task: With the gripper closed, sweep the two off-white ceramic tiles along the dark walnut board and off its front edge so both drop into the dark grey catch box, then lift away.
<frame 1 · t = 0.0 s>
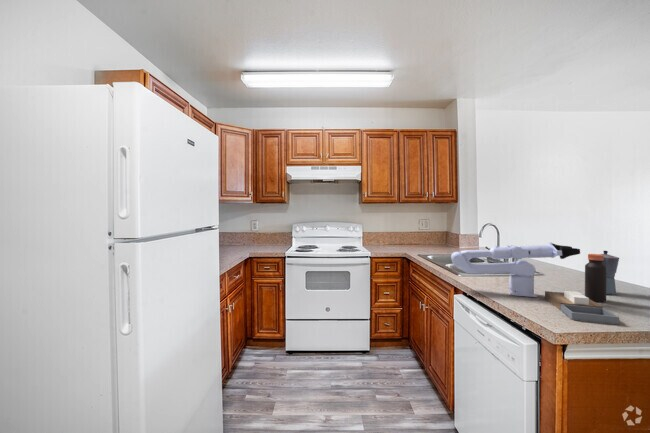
hand: (575, 250, 125), 22 cm above the countertop, tool horizontal, fingers open, 7 cm apart
walnut board: (571, 305, 117), on the countertop
catch box: (587, 317, 104), on the countertop
tile front: (578, 302, 112), point 3 cm above the countertop, touching walnut board
tile back: (573, 298, 116), point 3 cm above the countertop, touching walnut board
bottle: (595, 300, 123), on the countertop
moka pot: (602, 293, 133), on the countertop
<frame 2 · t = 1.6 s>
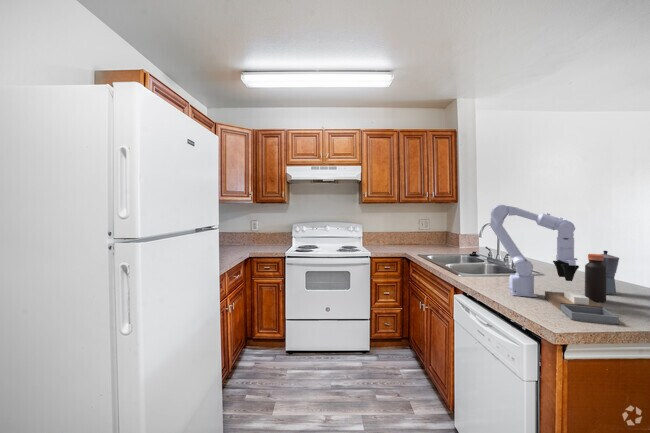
hand: (565, 278, 123), 9 cm above the countertop, tool pointing down, fingers open, 7 cm apart
nothing on the countertop moved.
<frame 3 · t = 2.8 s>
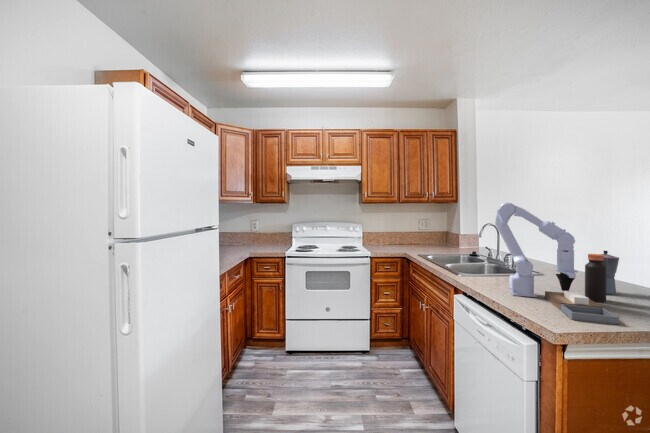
hand: (565, 290, 123), 4 cm above the countertop, tool pointing down, fingers closed
nothing on the countertop moved.
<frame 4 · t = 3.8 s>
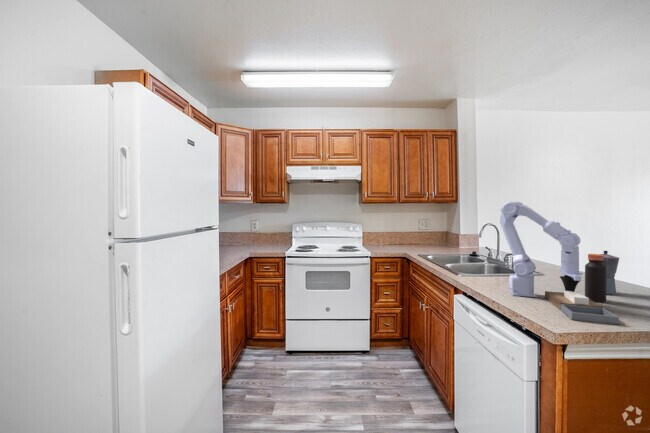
hand: (569, 293, 119), 4 cm above the countertop, tool pointing down, fingers closed
tile back: (573, 298, 116), point 3 cm above the countertop, touching gripper, walnut board
everything else where it was.
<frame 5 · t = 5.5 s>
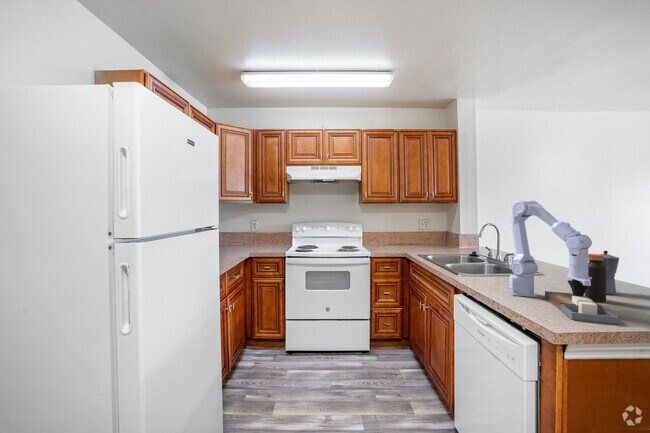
hand: (578, 299, 112), 4 cm above the countertop, tool pointing down, fingers closed
tile front: (586, 308, 106), point 3 cm above the countertop, tilted 90°, touching catch box
tile back: (581, 304, 109), point 3 cm above the countertop, touching gripper
everything else where it was.
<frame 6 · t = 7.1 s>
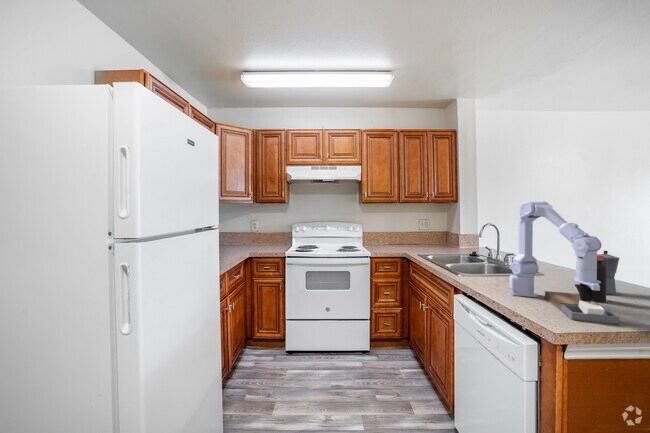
hand: (585, 304, 106), 4 cm above the countertop, tool pointing down, fingers closed, pressing on tile back
tile front: (591, 310, 102), point 3 cm above the countertop, tilted 104°, touching catch box, tile back
tile back: (588, 310, 104), point 2 cm above the countertop, tilted 14°, touching gripper, tile front
everything else where it was.
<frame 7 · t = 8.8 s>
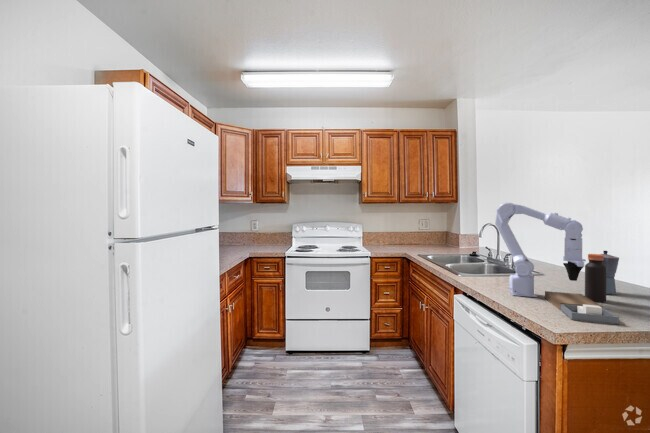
hand: (572, 280, 121), 9 cm above the countertop, tool pointing down, fingers closed
tile front: (590, 311, 103), point 3 cm above the countertop, tilted 90°, touching catch box
tile back: (587, 314, 105), resting on catch box
everything else where it was.
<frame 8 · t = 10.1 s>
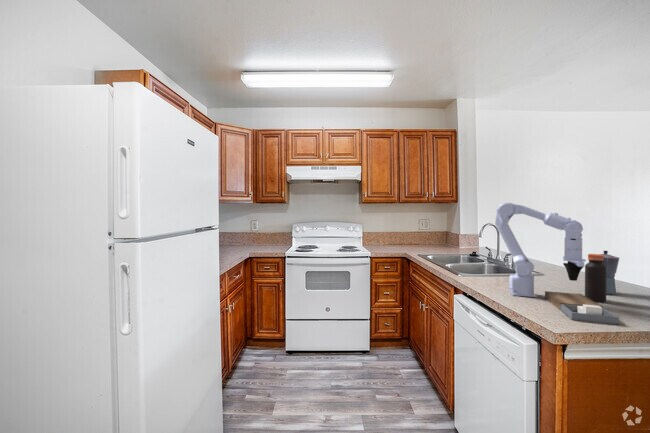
hand: (572, 280, 121), 9 cm above the countertop, tool pointing down, fingers closed
nothing on the countertop moved.
at the end: tile front inside the target area (1.1 cm from its centre), point 2.6 cm above the countertop; tile back inside the target area (1.5 cm from its centre), resting on catch box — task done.
